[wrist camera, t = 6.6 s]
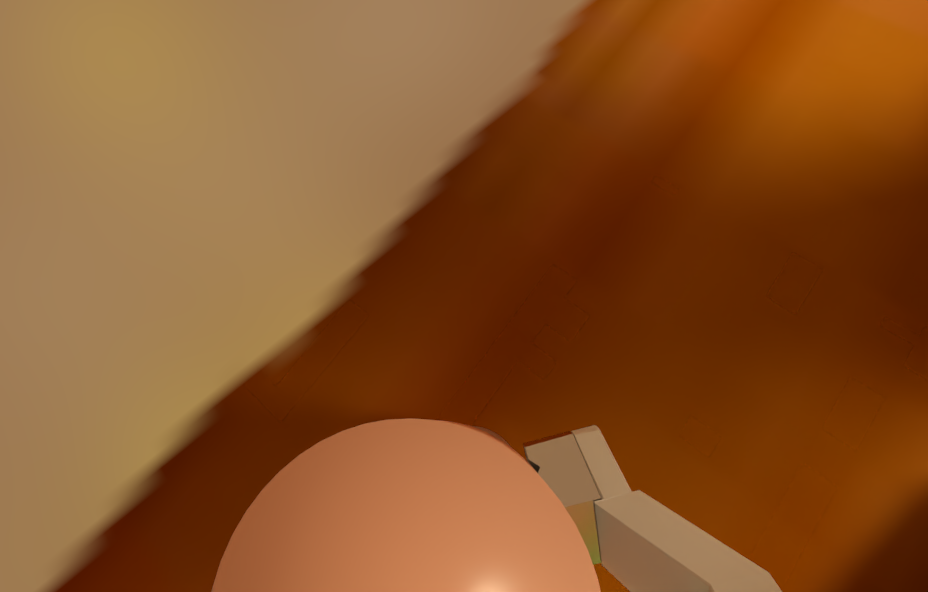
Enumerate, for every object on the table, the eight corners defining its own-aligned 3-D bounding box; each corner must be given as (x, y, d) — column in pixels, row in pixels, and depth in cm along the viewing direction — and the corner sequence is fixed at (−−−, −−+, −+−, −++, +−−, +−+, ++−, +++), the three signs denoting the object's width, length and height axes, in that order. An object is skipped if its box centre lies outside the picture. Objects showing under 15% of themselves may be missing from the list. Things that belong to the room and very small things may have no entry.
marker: (433, 409, 17) (291, 374, 5) (537, 440, 16) (644, 482, 5) (401, 520, 16) (136, 785, 4) (509, 556, 15) (552, 973, 4)
